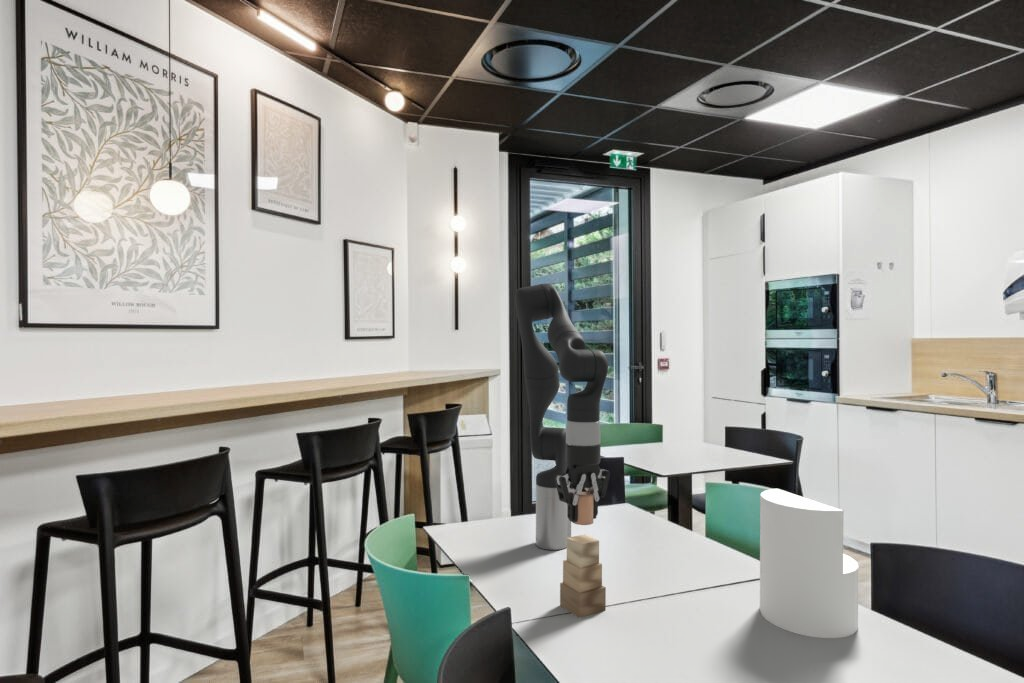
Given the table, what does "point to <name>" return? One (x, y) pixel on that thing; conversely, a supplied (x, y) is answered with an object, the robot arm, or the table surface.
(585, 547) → the tower top
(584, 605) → the tower base
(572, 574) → the tower mid
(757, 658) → the table surface
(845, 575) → the cylinder
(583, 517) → the cylinder
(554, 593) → the table surface
